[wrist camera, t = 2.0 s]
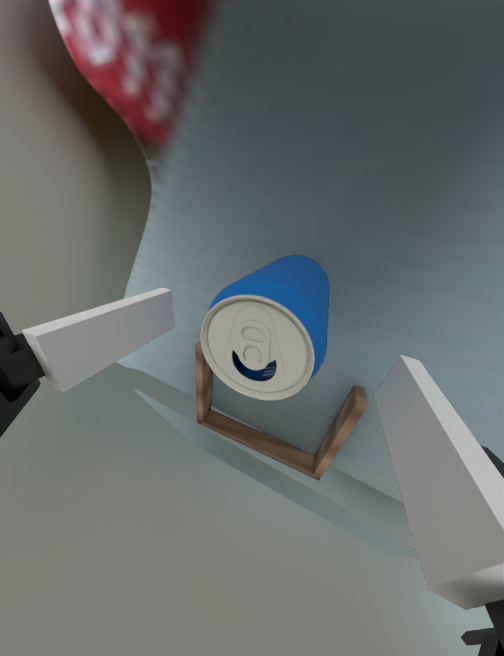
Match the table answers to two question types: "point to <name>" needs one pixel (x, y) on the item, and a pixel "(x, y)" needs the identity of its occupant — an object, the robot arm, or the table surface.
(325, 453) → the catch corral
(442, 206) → the table surface
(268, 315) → the beverage can
